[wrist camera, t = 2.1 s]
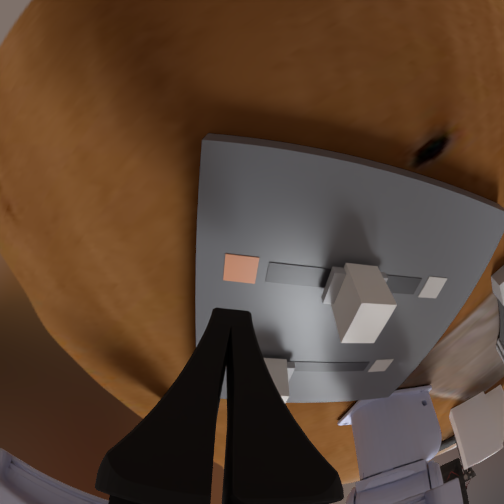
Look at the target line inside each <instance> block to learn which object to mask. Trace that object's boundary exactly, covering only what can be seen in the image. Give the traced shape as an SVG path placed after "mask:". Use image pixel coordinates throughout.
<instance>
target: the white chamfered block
mask: <svg viewBox="0 0 504 504" xmlns="http://www.w3.org/2000/svg"><path fill="white" fill-rule="evenodd" d="M449 418H450V421H451V425H452V428H453V431H454V434H455V438H456V441H457V445H458V448H459V452H460V456H461V460H462V464H463V468H464V470H465V469H467V468H469V467H471V466H473V465H475V464H477V463H479V462H481V461H483V460H484V459H486V458H488V457H489V456H491V455H492V454H494V453H496V452H497V451H499V450H500V449H501V448H503V444H502V443H503V440H504V391H503V389H502V386H501V384H500V385H499V386H497V387H496V388H494V389H493V390H491V391H490V392H488V393H486V394H484V391H482V392H481V393H479V394H477V395H476V396H474V397H472V398H471V399H469V400H467V401H465V402H464V403H462V404H460V405H458V406H456V407H454V408H452V409H451V411H450V415H449Z"/></svg>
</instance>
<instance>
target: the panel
mask: <svg viewBox="0 0 504 504" xmlns="http://www.w3.org/2000/svg"><path fill="white" fill-rule="evenodd" d="M503 232H504V208H503V207H501V206H500V205H499V204H498V203H495V202H493V201H491V200H488V199H486V198H484V197H481V196H479V195H476V194H474V193H471V192H469V191H466V190H463V189H461V188H458V187H455V186H453V185H450V184H447V183H444V182H442V181H439V180H436V179H433V178H430V177H427V176H424V175H420V174H417V173H414V172H411V171H408V170H404V169H401V168H397V167H394V166H390V165H387V164H383V163H379V162H375V161H372V160H368V159H364V158H360V157H355V156H351V155H347V154H342V153H338V152H333V151H328V150H323V149H318V148H313V147H308V146H302V145H297V144H291V143H285V142H278V141H272V140H265V139H257V138H250V137H241V136H232V135H222V134H211V133H208V134H207V135H206V136H205V137H204V138H203V139H202V147H201V160H200V175H199V192H198V211H197V237H196V294H195V306H196V347H197V345H198V343H199V341H200V339H201V338H202V336H203V334H204V331H205V329H206V327H207V325H208V322H209V320H210V317H211V314H212V310H213V309H214V308H216V307H217V308H226V309H235V310H244V311H249V312H250V313H251V315H252V322H253V326H254V330H255V334H256V338H257V341H258V344H259V347H260V350H261V353H262V355H263V358H274V359H287V362H294V363H295V369H294V372H293V374H292V376H291V378H290V380H289V382H288V383H289V398H288V400H287V401H286V402H295V403H307V402H340V401H356V400H368V399H378V398H387V397H389V396H390V395H391V394H392V393H393V392H394V391H395V390H396V389H397V388H398V387H399V386H400V385H401V384H402V383H403V382H404V381H405V379H406V378H407V377H408V376H409V375H410V374H411V373H412V372H413V371H414V369H415V368H416V367H417V366H418V365H419V364H420V362H421V361H422V360H423V359H424V358H425V356H426V355H427V354H428V353H429V351H430V350H431V349H432V348H433V346H434V345H435V344H436V343H437V341H438V340H439V339H440V337H441V336H442V335H443V333H444V332H445V331H446V329H447V328H448V327H449V325H450V324H451V322H452V321H453V320H454V318H455V317H456V315H457V314H458V312H459V311H460V309H461V308H462V306H463V305H464V303H465V302H466V300H467V299H468V297H469V295H470V294H471V292H472V291H473V289H474V287H475V286H476V284H477V282H478V281H479V279H480V277H481V275H482V274H483V272H484V270H485V268H486V266H487V265H488V263H489V261H490V259H491V257H492V255H493V253H494V251H495V249H496V247H497V245H498V243H499V241H500V239H501V237H502V235H503ZM345 263H353V264H362V265H371V266H378V268H379V270H380V272H385V273H386V275H387V277H388V280H387V282H386V284H387V286H388V288H389V290H390V292H391V294H392V296H393V298H394V300H395V302H396V304H397V306H396V308H395V309H394V311H393V313H392V315H391V316H390V318H389V320H388V321H387V323H386V324H385V326H384V328H383V329H382V331H381V333H380V334H379V336H378V337H377V339H376V340H375V342H374V343H341V342H340V338H339V334H338V330H337V326H336V322H335V318H334V314H333V311H332V307H331V304H323V302H322V298H321V296H322V294H323V291H324V288H325V286H326V283H327V280H328V277H329V275H330V272H331V269H332V266H334V267H343V268H344V266H345ZM220 398H223V399H227V382H226V370H225V376H224V381H223V386H222V392H221V397H220Z"/></svg>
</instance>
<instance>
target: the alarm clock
mask: <svg viewBox="0 0 504 504" xmlns="http://www.w3.org/2000/svg"><path fill="white" fill-rule="evenodd" d="M491 281H492V288H493V293H494V294H495V296H496V297H497V299H498V304H499V312H500V338H499V339H498V342H497V343H498V344H496V349H497V351H498V353H499V355H500V357H501V359H502V361H503V363H504V265H503V266H502V267H501V268H500V269H499V270H498V271H496V272H495V273H494V274H493V275H492V276H491Z"/></svg>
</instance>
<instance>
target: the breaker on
mask: <svg viewBox="0 0 504 504" xmlns="http://www.w3.org/2000/svg"><path fill="white" fill-rule="evenodd" d="M264 361H265V363H266V366H267V368H268V371H269V373H270V375H271V377H272V379H273V382H274V384H275V386H276V388H277V390H278V392H279V394H280V396H281V397H282V399H283V401H284V403H286V401H287V400H288V398H289V383H288V382H289V380H290V378H291V376H292V374H293V372H294V369H295V363H294V362H287V359H274V358H264Z"/></svg>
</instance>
